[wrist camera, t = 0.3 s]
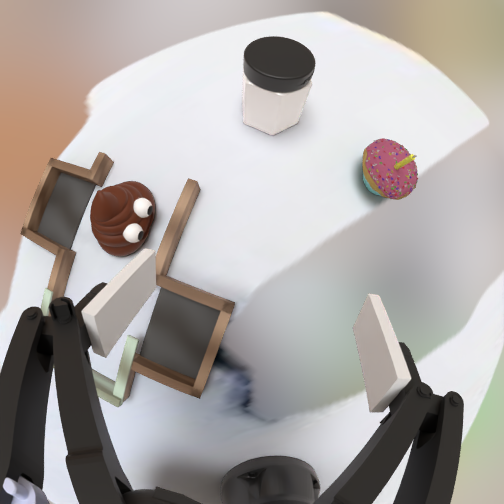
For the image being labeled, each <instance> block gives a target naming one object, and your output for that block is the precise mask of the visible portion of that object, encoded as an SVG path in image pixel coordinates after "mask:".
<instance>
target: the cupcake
mask: <svg viewBox="0 0 504 504" xmlns="http://www.w3.org/2000/svg"><path fill="white" fill-rule="evenodd" d="M415 157H416V155H413V154H412V155H411V154H409V152H408V151H407V149H405V148H404V147H403V145H400V144H398V143H396V141H392V140H389V139H378V140H376V141H374V142H373V143H372V144H370V145H369V146H368V147H367V148H365V150H364V152H363V181H364V184H365V186H366V187H367V189H368V190H369V191H370V192H372V193H373V194H375V195H379V196H383V197H385V198H390V199H396V200H399V199H402V198H404V197H406V196H408V195H409V194H410V193H411V192H412V190H413V189H414V188H416V183H417V179H418V178H417V175H418V173H417V166H416V163H415V162H414V159H415Z"/></svg>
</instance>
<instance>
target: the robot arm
mask: <svg viewBox="0 0 504 504" xmlns="http://www.w3.org/2000/svg"><path fill="white" fill-rule="evenodd" d="M155 289H156V256H155V250H150V249H146V248H144V249H143V250H142V251H141V252H140V253H139V254H138V255H137V256H136V257H135V258H134V259H133V260H132V261H131V262H129V263H128V264H127V265H126V266H125V267H124V268H123V269H122V270H121V271H120V272H119V273H118V274H117V275H116V276H115V277H114V278H113V279H112V280H111V281H110V282H109V283H108V284H107V283H104V282H102V283H100V284H98V285H96V286H95V287H94V288H93V289H92V290H91V291H90V293H88V294H87V295H86V296H85V297H84V298H83V299H82V300H81V301H80V302H79V303H78V304H77V305H76V306H75V307H74V305H73V302H72V300H71V299H70V298H67V297H59V298H56V299H54V300H52V301H51V303H50V304H49V307H48V308H49V311H50V314H51V316H44V315H43V312H42V310H41V309H40V308H39V307H30V308H27V309H26V310H25V311H24V312H23V313H22V315H21V317H20V320H19V322H18V324H17V327H16V329H15V332H14V334H13V337H12V340H11V342H10V345H9V348H8V351H7V354H6V357H5V360H4V363H3V366H2V370H1V373H0V504H49V501H48V500H47V497H46V495H45V493H44V492H43V491H42V488H43V480H44V439H45V424H46V413H47V404H48V397H49V390H50V383H51V377H52V372H53V366H54V370H55V381H56V390H57V398H58V405H59V411H60V417H61V423H62V428H63V433H64V437H65V442H66V446H67V450H68V455H67V456H66V465H67V469H68V472H69V475H70V479H71V482H72V485H73V488H74V491H75V494H76V496H77V499H78V502H79V504H201V503H199V502H196V501H194V500H192V499H190V498H188V497H186V496H184V495H182V494H178V493H175V492H172V491H168V490H165V489H162V488H159V487H156V489H155V490H151V489H142V490H134V491H133V489H132V487H131V485H130V483H129V481H128V479H127V477H126V475H125V474H124V472H123V470H122V468H121V465H120V463H119V460H118V458H117V455H116V453H115V450H114V447H113V444H112V442H111V439H110V436H109V433H108V430H107V427H106V423H105V420H104V417H103V413H102V410H101V406H100V402H99V398H98V395H97V390H96V386H95V382H94V377H93V373H92V368H91V363H90V357H89V353H88V349H89V347H90V346H92V349H93V352H94V353H96V354H98V355H100V356H103V357H105V358H106V357H107V356H108V354H109V353H110V351H111V350H112V348H113V347H114V345H115V344H116V343H117V341H118V340H119V338H120V337H121V335H122V334H123V333H124V331H125V330H126V328H127V327H128V326H129V324H130V323H131V321H132V320H133V319H134V317H135V316H136V314H137V313H138V312H139V310H140V309H141V308H142V306H143V305H144V304H145V302H146V301H147V300H148V298H149V297H150V296H151V294H152V293H153V292H154V290H155ZM353 331H354V335H355V339H356V344H357V348H358V353H359V357H360V361H361V367H362V372H363V377H364V382H365V387H366V392H367V398H368V404H369V410H370V412H383V411H384V410H385V409H386V408H387V407H388V406H389V409H390V412H389V413H388V415H387V416H386V417H385V418H384V419H383V420H382V421H381V422H380V423H381V425H380V426H379V427H378V429H377V430H376V432H375V433H374V434H373V436H372V437H371V438H370V440H369V441H368V442H367V444H366V445H365V446H364V448H363V449H362V450H361V451H360V453H359V454H358V455H357V456H356V458H355V459H354V460H353V461H352V462H351V464H350V465H349V466H348V467H347V468H346V469H345V470H344V472H343V473H342V474H341V475H340V476H339V477H338V478H337V479H336V480H335V481H334V483H333V484H332V485H331V486H330V487H329V488H328V489H327V490H326V491H325V492H324V493H323V494H322V495H321V496H320V497H319V493H320V483H319V480H318V477H317V475H316V473H315V471H314V469H313V468H312V467H311V466H310V465H309V464H307V463H305V462H304V461H301V460H299V459H295V458H291V457H284V456H269V457H262V458H257V459H253V460H249V461H247V462H244V463H242V464H240V465H238V466H236V467H234V468H233V469H232V470H230V471H229V472H228V473H227V474H226V476H225V477H224V479H223V481H222V484H221V500H222V503H223V504H372V503H373V501H374V500H375V499H376V498H377V496H378V495H379V493H380V492H381V491H382V489H383V488H384V486H385V485H386V484H387V482H388V481H389V479H390V478H391V476H392V475H393V473H394V472H395V470H396V468H397V467H398V465H399V464H400V462H401V460H402V459H403V457H404V455H405V454H406V452H407V450H408V448H409V447H410V445H411V443H412V441H413V444H412V448H411V452H410V456H409V459H408V463H407V466H406V469H405V472H404V475H403V478H402V481H401V484H400V487H399V490H398V492H397V495H396V498H395V500H394V503H393V504H450V502H451V498H452V494H453V490H454V485H455V481H456V475H457V470H458V464H459V457H460V449H461V440H462V429H463V410H464V403H463V399H462V397H461V396H460V395H459V394H458V393H456V392H453V391H450V392H448V393H447V394H446V395H445V396H444V397H442V396H439V395H435V394H433V391H432V389H431V388H430V387H429V386H428V385H427V384H425V383H423V382H421V379H420V376H419V374H418V371H417V368H416V365H415V363H414V360H413V358H412V355H411V352H410V350H409V348H408V347H407V346H406V345H405V344H404V343H402V342H398V340H397V337H396V335H395V332H394V330H393V327H392V325H391V322H390V320H389V317H388V315H387V313H386V310H385V308H384V306H383V303H382V301H381V299H380V296H379V295H374V294H368V295H367V298H366V300H365V302H364V304H363V307H362V309H361V311H360V313H359V315H358V318H357V320H356V322H355V324H354V326H353ZM413 439H414V440H413Z"/></svg>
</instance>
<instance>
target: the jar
mask: <svg viewBox="0 0 504 504" xmlns="http://www.w3.org/2000/svg"><path fill="white" fill-rule="evenodd" d="M314 69H315V58H314V56H313V54H312V53H311V51H310V50H309V49H308V48H307V47H305V46H304V45H302V44H301V43H299V42H297V41H295V40H292V39H289V38H284V37H274V36H273V37H264V38H260V39H257V40H255V41H253V42H251V43H250V44H249V45H248V46H247V47H246V49H245V51H244V60H243V87H242V107H243V122H244V124H246V125H249V126H251V127H253V128H256V129H258V130H260V131H263V132H265V133H267V134H269V135H272V136H273V135H275V134H277V133H279V132H281V131H283V130H285V129H287V128H289V127H291V126H293V125H295V124H297V123H298V121H299V118H300V116H301V113H302V110H303V108H304V105H305V102H306V100H307V97H308V94H309V92H310V89H311V86H312V82H311V78H312V75H313V73H314Z"/></svg>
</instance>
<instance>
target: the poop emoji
mask: <svg viewBox="0 0 504 504" xmlns="http://www.w3.org/2000/svg"><path fill="white" fill-rule="evenodd" d="M154 215H155V201H154V198H153V195H152V193H151V192H150V190H149V189H148V188H147V187H146V186H144V185H143V184H141V183H139V182H135V181H127V182H123V183H120V184H117V185H114V186H109V187H106V188H104V189H102V190H101V191H100V190H98V191H97V193H96V196H95V198H94V200H93V202H92V206H91V214H90V220H91V227H92V232H93V234H94V236H95V238H96V239H97V241H98V243H99V244H100V246H101V247H102V249H103V250H104V251H106V252H107V253H109V254H111V255H114V256H126V255H129V254H131V253H133V252H135V251H136V250H137V249H139V248H140V247H141V245H142V244H143V243H144V241H145V239H146V238H147V235H148V233H149V229H150V226H151V224H152V222H153V219H154Z"/></svg>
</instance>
